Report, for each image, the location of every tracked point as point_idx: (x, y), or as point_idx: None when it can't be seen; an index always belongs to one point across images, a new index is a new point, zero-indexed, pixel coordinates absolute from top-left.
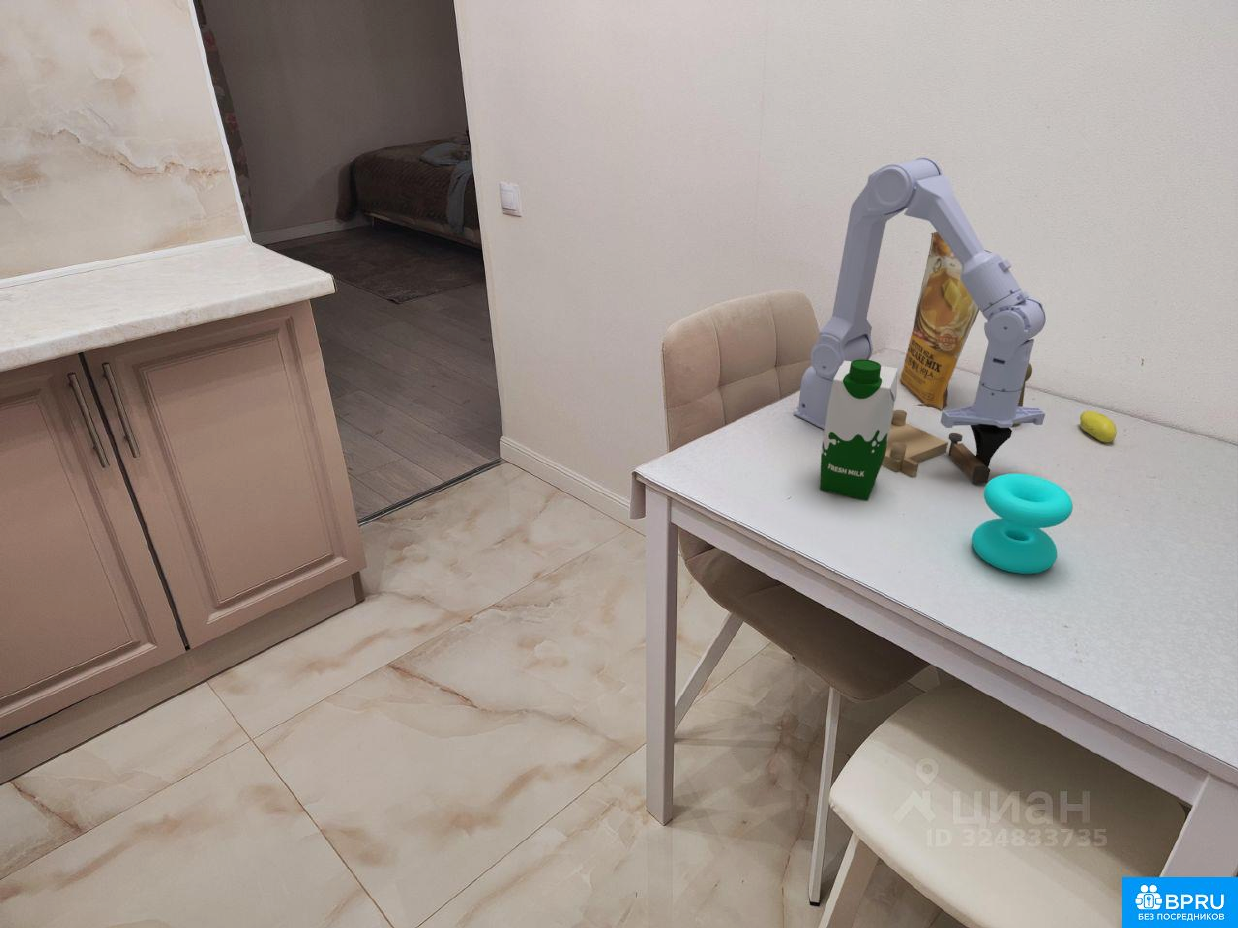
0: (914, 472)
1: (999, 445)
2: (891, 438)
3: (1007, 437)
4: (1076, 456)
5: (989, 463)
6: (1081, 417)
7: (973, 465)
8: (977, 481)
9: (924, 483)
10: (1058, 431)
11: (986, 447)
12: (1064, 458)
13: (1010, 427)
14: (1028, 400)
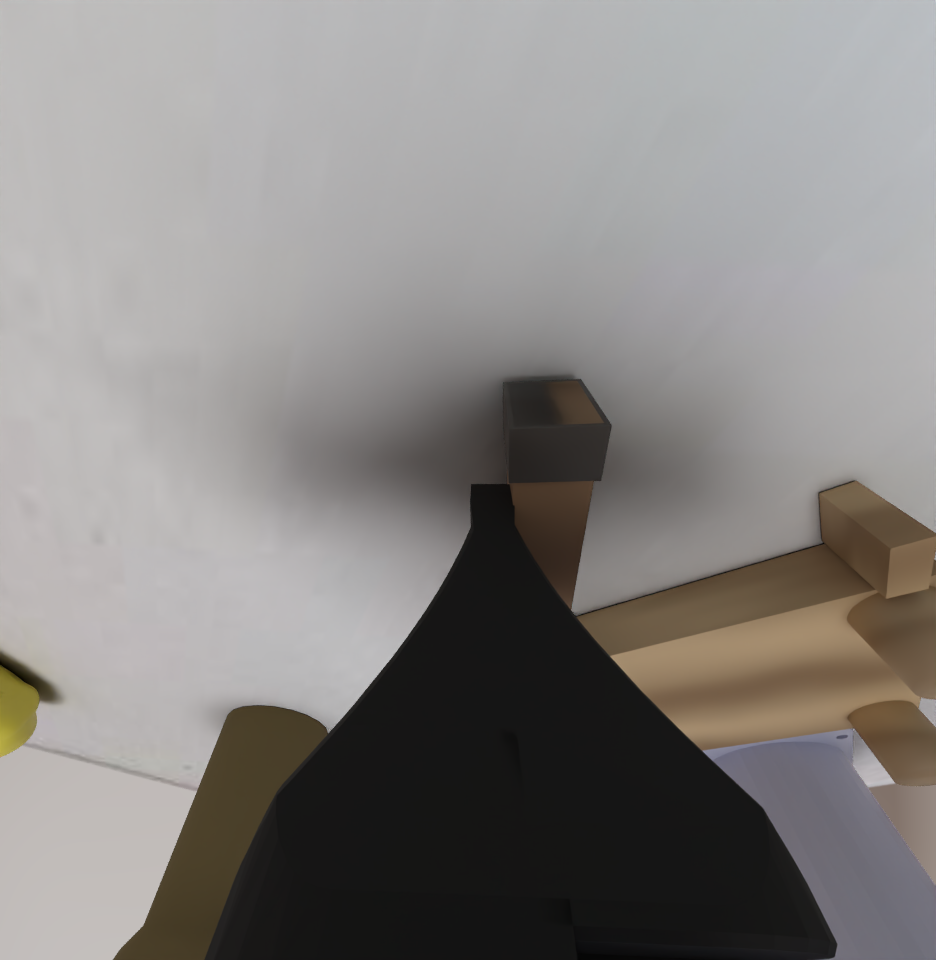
0: (864, 502)
1: (428, 642)
2: (751, 702)
3: (328, 796)
4: (31, 582)
5: (472, 506)
6: (16, 736)
7: (589, 497)
8: (575, 385)
9: (848, 422)
10: (116, 686)
11: (569, 625)
12: (76, 574)
13: (260, 706)
14: (199, 766)
